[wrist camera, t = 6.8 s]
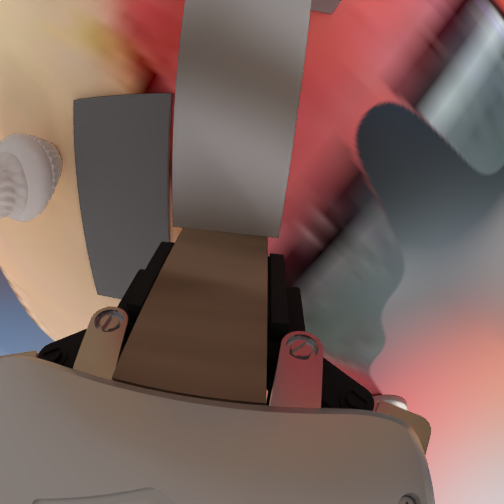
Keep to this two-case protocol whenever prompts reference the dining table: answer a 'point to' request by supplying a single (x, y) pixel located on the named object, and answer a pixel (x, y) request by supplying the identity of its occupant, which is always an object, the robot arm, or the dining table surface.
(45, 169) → the muffin
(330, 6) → the tile
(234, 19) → the turner
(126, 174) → the mat
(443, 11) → the dining table surface
